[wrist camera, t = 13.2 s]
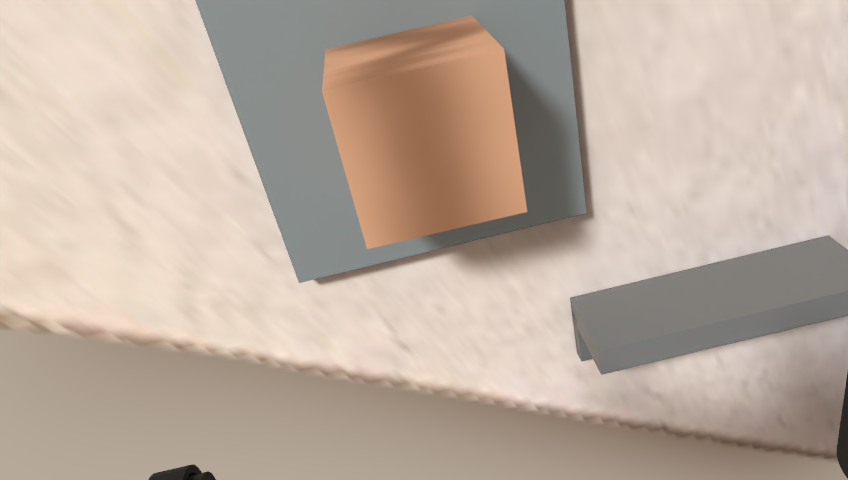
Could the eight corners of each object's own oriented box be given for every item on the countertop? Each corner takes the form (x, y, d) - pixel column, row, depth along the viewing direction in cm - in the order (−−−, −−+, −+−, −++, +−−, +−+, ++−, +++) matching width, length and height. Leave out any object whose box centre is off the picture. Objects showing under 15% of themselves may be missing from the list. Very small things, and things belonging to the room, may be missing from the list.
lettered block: (471, 15, 27) (504, 48, 21) (495, 157, 30) (528, 217, 24) (325, 49, 27) (322, 91, 21) (363, 188, 30) (368, 255, 24)
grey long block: (828, 235, 35) (889, 280, 31) (822, 292, 37) (879, 342, 33) (570, 298, 35) (599, 350, 31) (577, 352, 37) (604, 408, 33)
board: (544, -115, 26) (552, -115, 25) (578, 202, 33) (586, 213, 32) (192, -29, 26) (186, -25, 25) (300, 269, 33) (299, 283, 32)
